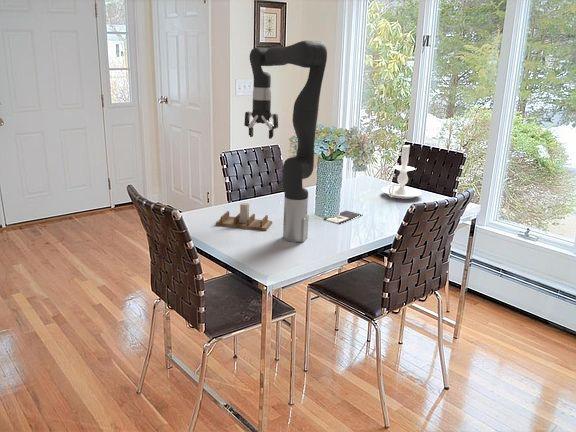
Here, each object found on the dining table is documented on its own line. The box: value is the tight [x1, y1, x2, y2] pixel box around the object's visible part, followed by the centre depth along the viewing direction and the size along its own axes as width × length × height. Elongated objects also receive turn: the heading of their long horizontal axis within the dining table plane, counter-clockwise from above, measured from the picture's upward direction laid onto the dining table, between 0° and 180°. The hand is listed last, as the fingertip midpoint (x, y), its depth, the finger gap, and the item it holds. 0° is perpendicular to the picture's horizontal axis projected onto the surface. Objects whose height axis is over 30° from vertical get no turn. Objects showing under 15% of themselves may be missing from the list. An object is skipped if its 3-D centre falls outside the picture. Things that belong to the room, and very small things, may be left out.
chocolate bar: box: [323, 210, 362, 225], centre depth 239 cm, size 9×1×18 cm
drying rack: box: [215, 210, 273, 232], centre depth 224 cm, size 22×10×4 cm, turn 77°
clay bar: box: [239, 202, 250, 223], centre depth 223 cm, size 3×3×8 cm
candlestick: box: [381, 144, 422, 200], centre depth 272 cm, size 21×25×28 cm
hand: (260, 137), depth 222 cm, fingers open, 8 cm apart
